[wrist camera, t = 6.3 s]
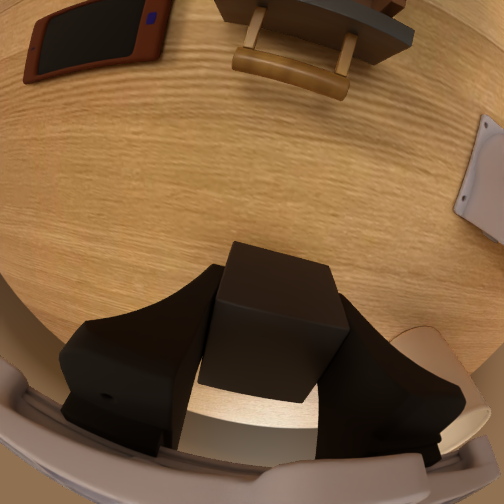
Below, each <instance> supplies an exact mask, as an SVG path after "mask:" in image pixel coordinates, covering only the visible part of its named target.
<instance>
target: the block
mask: <svg viewBox="0 0 504 504" xmlns="http://www.w3.org/2000/svg"><path fill="white" fill-rule="evenodd" d="M349 331H350V326H349V323H348V320H347V317H346V314H345V311H344V308H343V305H342V302H341V299H340V296H339V293H338V290H337V287H336V284H335V281H334V279H333V276H332V273H331V270H330V268H329V266H328V265H324V264H320V263H317V262H313V261H309V260H305V259H302V258H298V257H294V256H290V255H286V254H283V253H279V252H275V251H271V250H267V249H264V248H260V247H256V246H252V245H248V244H244V243H241V242H237V241H234V242H233V244H232V247H231V250H230V253H229V256H228V259H227V263H226V266H225V269H224V272H223V275H222V278H221V282H220V285H219V288H218V291H217V294H216V298H215V301H214V306H213V310H212V315H211V319H210V324H209V328H208V333H207V338H206V342H205V347H204V352H203V357H202V361H201V366H200V371H199V376H198V381H197V382H198V384H202V385H206V386H210V387H214V388H218V389H222V390H227V391H231V392H236V393H241V394H246V395H251V396H256V397H262V398H267V399H274V400H280V401H287V402H294V403H303V402H304V400H305V399H306V398H307V396H308V395H309V393H310V392H311V390H312V389H313V388H314V386H315V385H316V383H317V382H318V380H319V379H320V377H321V376H322V374H323V373H324V371H325V370H326V368H327V367H328V365H329V364H330V362H331V361H332V359H333V358H334V356H335V354H336V353H337V351H338V350H339V348H340V346H341V345H342V343H343V342H344V340H345V338H346V337H347V335H348V333H349Z"/></svg>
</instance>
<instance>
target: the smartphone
mask: <svg viewBox="0 0 504 504" xmlns="http://www.w3.org/2000/svg"><path fill="white" fill-rule="evenodd" d="M171 3H172V0H88V1H85V2H82V3H79V4H76V5H73V6H70V7H68V8H65V9H62V10H60V11H57V12H55V13H53V14H50V15H48V16H46V17H44V18H42V19H40V20H38V21H37V22H36V23H35V26H34V29H33V33H32V37H31V41H30V45H29V49H28V54H27V59H26V64H25V70H24V76H23V83H24V84H29V83H33V82H36V81H40V80H43V79H47V78H51V77H54V76H58V75H62V74H67V73H71V72H76V71H81V70H86V69H91V68H97V67H103V66H110V65H117V64H125V63H134V62H144V61H154V60H157V59H158V58H159V56H160V53H161V48H162V43H163V38H164V33H165V28H166V24H167V19H168V15H169V11H170V7H171Z"/></svg>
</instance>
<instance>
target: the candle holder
mask: <svg viewBox="0 0 504 504" xmlns="http://www.w3.org/2000/svg"><path fill="white" fill-rule="evenodd" d="M390 344H392V345H393V346H394V347H395V348H396V349H398V350H399V351H400V352H401V353H402V354H404V355H405V356H406V357H408V358H409V359H411V360H412V361H414V362H415V363H416V364H418V365H419V366H421V367H423V368H424V369H426V370H428V371H429V372H431V373H433V374H435V375H437V376H438V377H440V378H443V379H445V380H447V381H449V382H451V383H454V384H456V385H458V386H459V387H460V388H461V390H462V392H463V394H464V396H465V399H466V405H465V408H464V410H463V411H462V413H461V414H460V415H459V416H458V417H457V418H456V420H454V421H453V422H452V423H451V424H450V425H449V426H448V427H447V428H446V429H444V430H443V431H442V432H441V433H440V435H441V438H442V441H441V442H440V443H437V444H438V447H439V450H440V454H441V455H442V454H446V453H448V452H450V451H452V450H453V449H455V448H457V447H458V446H460V445H461V444H463V443H464V442H466V441H467V440H468V439H470V438H471V437H472V436H473V435H474V434H475V433H477V432H478V431H479V430H480V429H481V428H482V427H483V426H484V425H485V423H486V422H487V421H488V419H489V417H490V415H491V408H490V406H489V405H488V404H487V403H486V401H485V399H484V398H483V396H482V394H481V393H480V391H479V389H478V388H477V386H476V385H475V383H474V382H473V380H472V378H471V377H470V375H469V374H468V372H467V371H466V369H465V368H464V366H463V365H462V363H461V362H460V360H459V359H458V357H457V356H456V354H455V353H454V351H453V350H452V349H451V347H450V346H449V344H448V343H447V342H446V340H445V339H444V338H443V336H442V335H441V334H440V333H439V332H438V331H437V330H436V329H434V328H432V327H417V328H413V329H411V330H408V331H406V332H404V333H402V334H400V335H399V336H397V337H396V338H394V339H393V340H392V341H391V342H390Z"/></svg>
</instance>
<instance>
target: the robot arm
mask: <svg viewBox="0 0 504 504" xmlns="http://www.w3.org/2000/svg"><path fill="white" fill-rule="evenodd" d="M484 123H485V126H484ZM463 196H464V198H463V200H462V197H463ZM454 212H455V213H456V214H458V215H460V216H461V217H463V218H465V219H466V220H468V221H469V222H471V223H472V224H474V225H475V226H477V227H478V228H480V229H481V230H483V232H482V234H483V235H485V236H486V237H488V238H489V239H490V240H492V241H494V242H495V243H498V241H499V242H500V243H501V244H503V245H504V130H503V129H502V128H501V127H500V126H499V125H498V124H497V123H496V122H495V121H494V120H492V119H491V118H490V117H489V116H488V115H482V117H481V121H480V125H479V129H478V133H477V137H476V141H475V145H474V149H473V152H472V156H471V159H470V162H469V166H468V169H467V172H466V175H465V178H464V181H463V184H462V186H461V189H460V192H459V195H458V197H457V200H456V203H455V205H454ZM224 269H225V266H221V265H217V264H212V265H210V266H209V267H208V268H207V269H206V270H205V271H204V272H203V273H202V274H200V275H199V276H198V277H197V278H195V279H194V280H193V281H192V282H190V283H189V284H188V285H186V286H185V287H183V288H182V289H180V290H179V291H177V292H176V293H174V294H172V295H171V296H169V297H167V298H165V299H163V300H161V301H159V302H157V303H155V304H153V305H150V306H147V307H145V308H142V309H140V310H137V311H133V312H130V313H127V314H123V315H119V316H114V317H109V318H103V319H96V320H89V321H85V322H84V323H83V324H82V325H81V326H80V327H79V328H78V329H77V330H76V332H75V333H74V334H73V335H72V337H71V338H70V339H69V341H68V342H67V344H66V345H65V346H64V348H63V349H62V350H61V352H60V354H59V362H60V366H61V369H62V372H63V374H64V377H65V380H66V382H67V384H68V386H69V389H70V391H71V392H70V394H69V396H68V398H67V399H66V401H65V403H64V404H63V405H61V404H59V403H57V402H55V401H54V400H52V399H50V398H49V397H47V396H45V395H43V394H42V393H40V392H38V391H37V390H35V389H34V388H32V387H31V386H29V384H28V382H27V379H26V378H25V376H24V375H23V373H22V372H21V371H20V370H19V369H18V368H17V367H16V366H14V365H13V364H11V363H10V362H8V361H7V360H6V359H4V358H3V357H2V356H0V443H1V444H3V445H4V446H5V447H6V448H8V449H9V450H10V451H12V452H13V453H14V454H16V455H17V456H18V457H20V458H21V459H22V460H24V461H25V462H26V463H28V464H29V465H31V466H32V467H34V468H35V469H36V470H38V471H39V472H41V473H43V474H44V475H46V476H47V477H49V478H51V479H52V480H54V481H55V482H57V483H59V484H60V485H62V486H64V487H66V488H67V489H69V490H71V491H73V492H75V493H77V494H78V495H80V496H82V497H84V498H86V499H88V500H90V501H92V502H94V503H97V504H455V503H457V502H459V501H461V500H463V499H465V498H467V497H469V496H470V495H472V494H474V493H476V492H477V491H479V490H481V489H482V488H483V487H485V486H487V485H488V484H490V483H492V482H493V481H495V480H496V479H498V478H499V477H500V476H501V473H500V470H499V467H498V464H497V461H496V458H495V456H494V453H493V450H492V447H491V444H490V442H489V440H488V437H487V435H484V436H480V437H477V438H474V439H472V440H470V441H468V442H467V443H466V444H465V445H463V446H462V447H461V448H459V450H457V451H454V452H450V453H446V454H442V455H441V454H440V450H439V447H438V444H437V443H440V442H441V441H442V438H441V435H440V433H441V432H442V431H443V430H444V429H446V428H447V427H448V426H449V425H450V424H451V423H452V422H453V421H454V420H456V418H457V417H458V416H459V415H460V414H461V413H462V411H463V410H464V408H465V405H466V399H465V396H464V394H463V392H462V390H461V388H460V387H459V386H458V385H456V384H454V383H451V382H449V381H447V380H445V379H443V378H440V377H438V376H437V375H435V374H433V373H431V372H429V371H428V370H426V369H424V368H423V367H421V366H419V365H418V364H416V363H415V362H414V361H412V360H411V359H409V358H408V357H406V356H405V355H404V354H402V353H401V352H400V351H399V350H398V349H396V348H395V347H394V346H393V345H392V344H390V343H389V342H388V341H387V340H386V339H385V338H384V337H383V336H382V335H381V334H380V333H379V332H378V331H377V330H376V329H375V328H374V327H373V326H372V325H371V324H370V323H369V322H368V321H367V320H366V319H365V318H364V317H363V316H362V315H361V313H360V312H359V311H358V310H357V309H356V308H355V307H354V306H353V305H352V304H351V303H350V302H349V300H348V299H347V298H346V297H344V296H343V295H342V294H341V293H339V296H340V299H341V302H342V305H343V308H344V311H345V314H346V317H347V320H348V323H349V326H350V331H349V333H348V335H347V337H346V338H345V340H344V342H343V343H342V345H341V346H340V348H339V350H338V351H337V353H336V354H335V356H334V358H333V359H332V361H331V362H330V364H329V365H328V367H327V368H326V370H325V371H324V373H323V374H322V376H321V377H320V379H319V380H318V382H317V386H318V396H319V416H318V436H317V447H316V456H315V460H301V461H295V462H290V463H286V464H279V465H277V466H275V467H273V468H272V467H262V466H253V465H245V464H238V463H232V462H226V461H220V460H215V459H210V458H205V457H201V456H196V455H192V454H188V453H184V452H180V451H177V449H178V444H179V440H180V436H181V431H182V427H183V423H184V419H185V415H186V411H187V407H188V403H189V399H190V395H191V391H192V387H193V383H194V380H195V376H196V373H197V370H198V367H199V364H200V361H201V359H202V356H203V352H204V347H205V342H206V338H207V333H208V328H209V324H210V319H211V315H212V310H213V306H214V301H215V298H216V294H217V291H218V288H219V285H220V282H221V278H222V275H223V272H224Z"/></svg>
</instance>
